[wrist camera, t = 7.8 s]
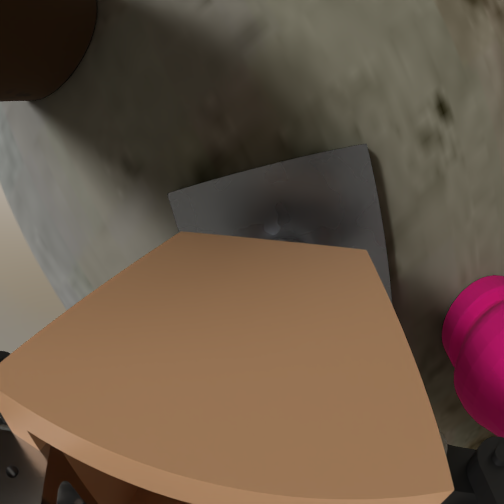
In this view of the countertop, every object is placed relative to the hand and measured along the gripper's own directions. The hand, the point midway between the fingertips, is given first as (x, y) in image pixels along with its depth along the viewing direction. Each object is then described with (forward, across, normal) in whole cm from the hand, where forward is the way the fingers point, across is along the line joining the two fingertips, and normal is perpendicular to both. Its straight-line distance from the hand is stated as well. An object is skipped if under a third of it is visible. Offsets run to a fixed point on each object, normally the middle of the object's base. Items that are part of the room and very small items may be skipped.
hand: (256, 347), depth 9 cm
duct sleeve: (+2, 0, 0) cm, 2 cm away
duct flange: (+8, 0, 0) cm, 8 cm away
